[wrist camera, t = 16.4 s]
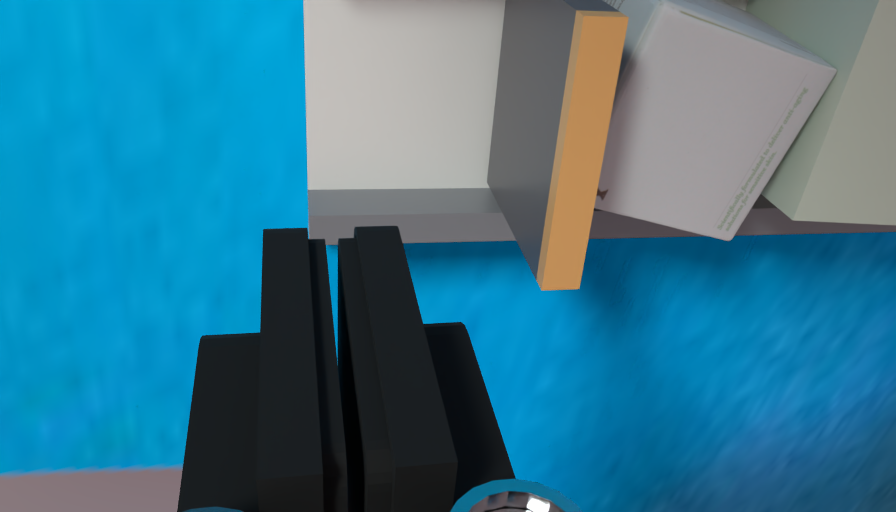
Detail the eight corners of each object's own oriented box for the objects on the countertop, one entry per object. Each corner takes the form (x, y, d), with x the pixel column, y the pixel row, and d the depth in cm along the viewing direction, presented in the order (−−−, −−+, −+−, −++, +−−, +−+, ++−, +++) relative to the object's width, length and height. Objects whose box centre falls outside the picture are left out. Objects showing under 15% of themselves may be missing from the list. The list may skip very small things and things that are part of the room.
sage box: (702, 145, 26) (792, 220, 21) (761, -42, 23) (879, -3, 18) (856, 156, 27) (972, 229, 23) (930, -20, 24) (1081, 21, 20)
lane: (308, 224, 26) (311, 306, 22) (299, -140, 21) (301, -125, 16) (991, 211, 31) (1101, 276, 27) (1129, -85, 26) (1296, -63, 21)
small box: (668, 170, 26) (733, 249, 22) (517, 127, 25) (557, 204, 21) (758, 10, 24) (850, 67, 20) (595, -53, 22) (659, -4, 18)
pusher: (486, 182, 25) (541, 290, 19) (509, -40, 22) (584, 15, 16) (516, 181, 25) (579, 289, 20) (543, -38, 22) (628, 17, 16)
